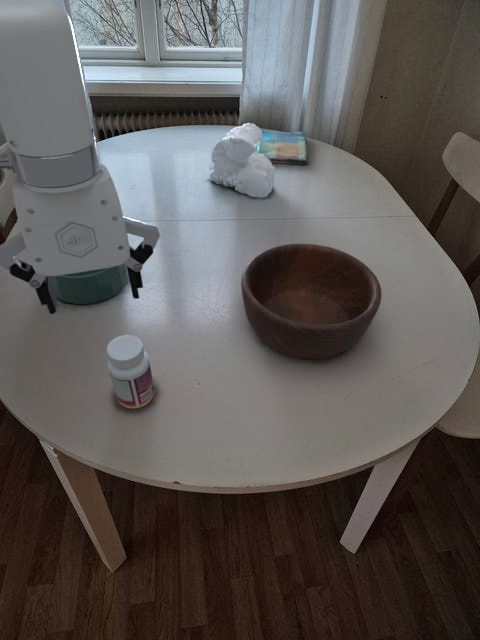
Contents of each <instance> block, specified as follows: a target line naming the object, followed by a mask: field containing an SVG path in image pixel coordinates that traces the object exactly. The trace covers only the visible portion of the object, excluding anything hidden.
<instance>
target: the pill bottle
mask: <svg viewBox="0 0 480 640" xmlns="http://www.w3.org/2000/svg"><path fill="white" fill-rule="evenodd" d="M106 354H107V358H108V361H107V370H108V373H109V376H110V380H111V383H112V387H113V391H114V394H115V398H116V400H117V402H118V403H119V405H120V406H122V407H124V408H127V409H139V408H142V407H144V406H146V405H148V404H149V403H150V402H151V400H152V399H153V397H154V395H155V384H154V380H153V374H152V369H151V362H150V358H149V355H148V353H147V352H146V351H145V350H144V345H143V341H142V340H141V339H140V338H139V337H137V336H135V335H131V334H125V335H119V336H116V337H115V338H113V339H112V340H110V342H109V343H108V344H107V347H106Z"/></svg>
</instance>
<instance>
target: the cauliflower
mask: <svg viewBox="0 0 480 640" xmlns="http://www.w3.org/2000/svg"><path fill="white" fill-rule="evenodd" d="M262 137H263V136H262V129H261V128H260V127H259V126H257V125H256V124H255V123H253V122H252V123H250V122H248V123H246V122H245V123H243V124H242V126H241V125H240V126H235V127H233V128H232V129H231V130H229V131H228V132H227V133H226V134H225V136H224V137H223V139H220V140H219V141H217V142H216V143H215V144H214V146H213V147H212V151H211V156H210V157H211V162H212V164H213V166H212V165H209V170H210V173H209V181H211V182H214V184H217V185H222V186H224V187H227V188H229V187H231V188H232V187H234V190H235V191H236V192H238V193H240V194H246V195H248V196H249V197H252V198H261V199H265V198H267V197H268V196H269V194H271V192H272V191H273V186H274V183H275V170H276V166H273V162H271V161H270V160H269V159H268V158H266V157H265V156H264V154H259V153H257V152H255V151H256V149H255V148H257V144H258V143H259V142H260V141H261V139H262Z"/></svg>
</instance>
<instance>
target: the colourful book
mask: <svg viewBox="0 0 480 640" xmlns="http://www.w3.org/2000/svg"><path fill="white" fill-rule="evenodd" d="M261 130H262V129H261ZM262 136H263V137H262V139H261V141H260V142H259V143H258V144H257V146H256V153H259V154H264V156H265V157H266V158H268V159H269V160H270V161H271V163H276V164H289V165H290V164H292V165H308V163H309V159H308V148H307V137H306V134H305V132H302V131H276V132H275V131H268V130H262Z"/></svg>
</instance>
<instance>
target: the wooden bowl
mask: <svg viewBox="0 0 480 640" xmlns="http://www.w3.org/2000/svg"><path fill="white" fill-rule="evenodd" d="M378 279H379V278H377V276H376V274H375V273H374V272H373V270H371V268H370V267H369V266H367V265H366V264H365V263H364V262H363V261H361V260H360V259H358V258H357V257H355V256H353V255H351V254H349V253H347V252H346V251H345V252H344V251H342V250H340V249H337V248H335V247H330V246H327V245H321V244H314V243H289V244H288V243H287V244H282V245H277V246H274V247H271V248H268V249H266V250H264V251H261V252H260V253H258V254H257V255H255V256H254V257H252V258H251V260H249V262H248V263H247V264H246V265H245V267H244V270H243V272H242V274H241V280H240V287H241V295H242V296H241V297H242V304H243V307H244V311H245V315H246V318H247V320H248V322H249V323H248V324H249V325H250V326H251V328H252V329H253V331H254V333H255V334H256V335H257V336H258V338H259V339H260V340H261V341H263V343H264V344H266V345H267V346H268V347H270V348H271V349H273V350H275V351H277V352H279V353H281V354H284V355H287V356H289V357H293V358H298V359H303V360H304V359H305V360H321V359H326V358H331V357H334V356H336V355H339V354H341V353H343V352H344V351H346V350H348V349H350V348H351V347H352V346H353V345H354V344H356V343H358V341H359V340H360V339H361V338H362V337H363V335H365V333H366V331H367V330H369V329H368V328H369V327H370V325H371V324H372V322H373V320H374V318H375V316H376V315H377V313H378V311H379V308H380V306H381V303H382V288H381V283H380V281H379V280H378Z"/></svg>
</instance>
